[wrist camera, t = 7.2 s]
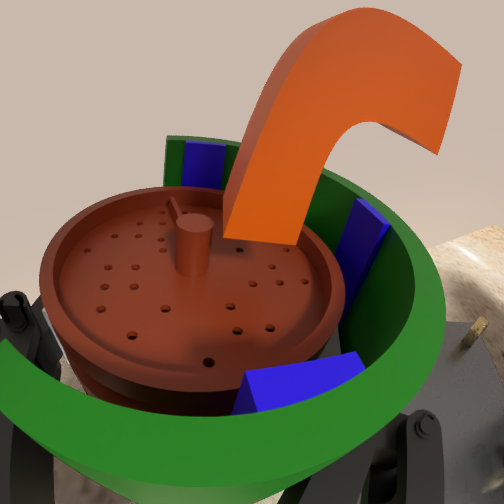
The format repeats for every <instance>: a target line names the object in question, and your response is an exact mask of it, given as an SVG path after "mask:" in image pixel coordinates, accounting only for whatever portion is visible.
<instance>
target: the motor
mask: <svg viewBox="0 0 504 504" xmlns="http://www.w3.org/2000/svg"><path fill="white" fill-rule="evenodd" d="M461 66H462V64H461V63H459V62H458V61H457V60H456V59H455V58H454V57H453V56H452V55H451V54H450V53H449V52H448V51H446V50H445V49H444V48H443V47H442V46H441V45H439V44H438V43H437V42H436V41H434V40H433V39H432V38H431V37H430V36H428V35H427V34H426V33H424V32H423V31H421V30H420V29H419V28H417V27H416V26H414V25H413V24H411V23H409V22H408V21H406V20H404V19H402V18H401V17H399V16H397V15H394V14H392V13H390V12H387V11H384V10H380V9H375V8H356V9H352V10H349V11H346V12H344V13H341V14H339V15H336V16H334V17H331V18H329V19H327V20H324V21H322V22H320V23H318V24H315V25H313V26H311V27H310V28H308V29H306V30H305V31H304V32H302V33H301V34H300V35H299V36H298V37H297V38H296V39H295V40H294V41H293V42H292V43H291V44H290V46H289V47H288V48H287V49H286V51H285V52H284V53H283V55H282V56H281V58H280V59H279V61H278V63H277V64H276V66H275V67H274V69H273V71H272V73H271V75H270V77H269V78H268V80H267V82H266V84H265V86H264V88H263V90H262V93H261V95H260V97H259V100H258V102H257V104H256V107H255V109H254V111H253V114H252V116H251V118H250V121H249V124H248V126H247V129H246V132H245V134H244V137H243V139H242V142H241V143H240V142H235V141H228V140H222V139H215V138H206V137H194V136H167V139H166V149H165V163H164V177H163V187H154V188H146V189H139V190H135V191H130V192H126V193H122V194H118V195H116V196H112V197H109V198H107V199H104V200H102V201H100V202H97V203H95V204H93V205H91V206H89V207H87V208H86V209H84V210H82V211H81V212H79V213H78V214H76V215H75V216H74V217H72V218H71V219H70V220H69V221H68V222H66V223H65V224H64V225H63V227H61V228H60V229H59V231H58V232H57V233H56V234H55V236H54V237H53V239H52V240H51V242H50V243H49V245H48V247H47V249H46V251H45V253H44V256H43V259H42V262H41V267H40V274H39V286H40V293H41V298H42V302H43V305H44V308H45V310H46V313H47V315H48V318H49V320H50V323H51V325H52V327H53V330H54V332H55V334H56V336H57V338H58V340H59V342H60V343H61V345H62V347H63V349H64V352H65V354H66V357H67V359H68V361H69V363H70V365H71V367H72V369H73V371H74V373H75V375H76V376H77V378H78V380H79V382H80V383H81V385H82V386H83V388H84V390H85V392H86V394H87V395H86V394H84V393H82V392H79V391H77V390H75V389H73V388H71V387H69V386H67V385H65V384H63V383H61V382H59V381H58V380H56V379H54V378H53V377H51V376H50V375H48V374H46V373H45V372H43V371H42V370H40V369H39V368H37V367H36V366H35V365H34V364H32V363H31V362H30V361H29V360H27V359H26V358H25V357H24V356H23V355H22V354H20V353H19V352H18V351H17V350H16V349H15V348H14V347H13V346H12V344H11V343H10V342H9V341H8V340H7V339H6V338H5V339H4V340H3V341H2V342H1V343H0V411H1V412H2V413H3V414H4V415H5V416H6V417H7V418H8V419H10V420H11V421H12V422H13V423H14V424H15V425H16V426H17V427H19V428H20V429H21V430H22V431H23V432H24V433H26V434H27V435H28V436H29V437H30V438H32V439H33V440H34V441H35V442H37V443H38V444H39V445H41V446H42V447H43V448H45V449H46V450H47V451H49V452H50V453H51V454H53V455H54V456H55V457H57V458H58V459H60V460H61V461H63V462H64V463H66V464H67V465H69V466H70V467H72V468H73V469H75V470H76V471H78V472H79V473H81V474H83V475H84V476H86V477H88V478H89V479H91V480H93V481H95V482H96V483H98V484H100V485H102V486H103V487H105V488H107V489H109V490H111V491H113V492H115V493H117V494H119V495H121V496H123V497H125V498H127V499H129V500H131V501H133V502H135V503H138V504H253V503H256V502H258V501H260V500H263V499H265V498H267V497H269V496H272V495H274V494H276V493H278V492H280V491H282V490H284V489H286V488H288V487H290V486H292V485H294V484H296V483H298V482H300V481H302V480H304V479H305V478H307V477H309V476H311V475H313V474H314V473H316V472H318V471H320V470H321V469H323V468H325V467H326V466H328V465H330V464H331V463H333V462H335V461H336V460H338V459H339V458H341V457H342V456H344V455H345V454H347V453H348V452H350V451H351V450H353V449H354V448H356V447H357V446H359V445H360V444H362V443H363V442H364V441H366V440H367V439H369V438H370V437H371V436H373V435H374V434H375V433H377V432H378V431H379V430H380V429H382V428H383V427H384V426H385V425H386V424H388V423H389V422H390V421H391V420H392V419H394V418H395V417H396V416H397V415H398V414H399V413H400V412H401V411H402V410H403V409H404V408H405V406H406V405H407V404H408V403H409V402H410V401H411V400H412V399H413V398H414V396H415V395H416V393H417V392H418V391H419V389H420V388H421V387H422V385H423V384H424V382H425V381H426V379H427V377H428V375H429V374H430V372H431V370H432V368H433V366H434V364H435V362H436V359H437V357H438V354H439V352H440V348H441V345H442V341H443V337H444V331H445V323H446V306H445V297H444V291H443V287H442V283H441V280H440V276H439V274H438V271H437V269H436V266H435V264H434V262H433V260H432V258H431V256H430V255H429V253H428V251H427V250H426V248H425V247H424V245H423V244H422V242H421V241H420V239H419V238H418V237H417V236H416V234H415V233H414V232H413V231H412V230H411V228H410V227H409V226H408V225H407V224H406V223H405V222H404V221H403V220H402V219H401V218H400V217H399V216H398V215H397V214H395V212H393V211H392V210H391V209H390V208H389V207H387V206H386V205H385V204H383V203H382V202H381V201H380V200H378V199H377V198H376V197H374V196H373V195H371V194H370V193H368V192H367V191H365V190H364V189H362V188H361V187H359V186H357V185H356V184H354V183H352V182H350V181H349V180H347V179H345V178H343V177H341V176H339V175H337V174H335V173H333V172H331V171H329V170H327V169H324V168H323V167H324V165H325V162H326V160H327V158H328V156H329V154H330V152H331V151H332V149H333V147H334V145H335V144H336V142H337V141H338V139H339V138H340V137H341V136H342V135H343V134H344V133H345V132H346V131H347V130H348V129H349V128H351V127H352V126H354V125H356V124H358V123H361V122H369V121H370V122H377V123H379V124H381V125H382V126H384V127H386V128H388V129H390V130H391V131H393V132H395V133H397V134H399V135H401V136H403V137H405V138H407V139H409V140H410V141H413V142H414V143H416V144H418V145H420V146H422V147H424V148H425V149H427V150H429V151H431V152H432V153H434V154H436V155H438V152H439V149H440V146H441V143H442V140H443V137H444V133H445V130H446V126H447V123H448V120H449V116H450V113H451V109H452V105H453V101H454V97H455V93H456V89H457V85H458V80H459V76H460V70H461ZM337 325H338V333H339V342H340V351H341V355H337V356H333V357H328V358H323V359H318V357H319V356H320V355H321V353H322V352H323V350H324V348H325V347H326V345H327V343H328V341H329V340H330V338H331V336H332V334H333V333H334V331H335V329H336V327H337ZM317 359H318V360H317Z"/></svg>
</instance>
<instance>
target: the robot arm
mask: <svg viewBox="0 0 504 504" xmlns="http://www.w3.org/2000/svg"><path fill="white" fill-rule="evenodd" d="M0 315H1V316H2V319H0V343H1V342H2V341H3V340H4V339H5V338H6V339H7V340H8V341H9V342H10V343H11V344H12V346H13V347H14V348H15V349H16V350H17V351H18V352H19V353H20V354H22V355H23V356H24V357H25V358H26V359H27V360H29V361H30V362H31V363H32V364H34V365H35V366H36V367H37V368H39V369H40V370H42V371H43V372H45V373H46V374H48V375H50V376H51V377H53V378H54V379H56V380H58V381H59V382H60V377H61V365H60V362H59V360H60V359H61V357H62V355H64V357H65V359H66V361H67V362H68V364H70V363H69V361H68V359H67V357H66V354H65V352H64V349H63V347H62V345H61V343H60V342H59V340H58V338H57V336H56V334H55V332H54V330H53V327H52V325H51V323H50V320H49V318H48V315H47V313H46V310H45V308H44V305H43V302H42V298H41V295H40V296H39V297H38V298H37V300H36V301H35V302H34V303H33V305H32V306H30V304H29V301H28V299H27V297H26V295H25V294H24V293H23V292H20V291H12V292H9V293H6V294H4V295H3V296H2V297H1V298H0ZM337 355H341V351H340V342H339V333H338V325H337V327H336V329H335V331H334V333H333V334H332V336H331V338H330V340H329V341H328V343H327V345H326V347H325V348H324V350H323V352H322V353H321V355H320V356H319V357H318V359H323V358H328V357H333V356H337ZM318 359H317V360H318ZM53 457H54V455H53V454H51V453H50V452H49V451H47V450H46V449H45V448H43V447H42V446H41V445H39V444H38V443H37V442H35V441H34V440H33V439H32V438H30V437H29V436H28V435H27V434H26V433H24V432H23V431H22V430H21V429H20V428H19V427H17V426H16V425H15V424H14V423H13V422H12V421H11V420H10V419H8V418H7V417H6V416H5V415H4V414H3V413H2V412H1V411H0V504H55V501H54V478H53ZM361 491H362V492H361ZM360 494H361V501H360V504H444V498H445V481H444V455H443V442H442V431H441V426H440V422H439V420H438V419H437V417H436V416H435V415H434V414H433V413H432V412H430V411H428V410H424V409H421V410H416V411H415V412H413V413H412V414H410V415H409V416H408V415H405V414H402V413H399V414H398V415H397V416H396V417H395V418H394V419H392V420H391V421H390V422H389V423H388V424H386V425H385V426H384V427H383V428H382V429H380V430H379V431H378V432H377V433H375V434H374V435H373V436H371V437H370V438H369V439H367V440H366V441H364V442H363V443H362V444H360V445H359V446H357V447H356V448H354V449H353V450H351V451H350V452H348V453H347V454H345V455H344V456H342V457H341V458H339V459H338V460H336V461H335V462H333V463H331V464H330V465H328V466H326V467H325V468H323V469H321V470H320V471H318V472H316V473H314V474H313V475H311V476H309V477H307V478H305V479H304V480H302V481H300V482H298V483H296V484H294V485H292V486H290V487H288V488H286V489H285V490H284V492H283V494H282V496H281V498H280V499H279V501H278V503H277V504H357V501H358V499H359V496H360Z"/></svg>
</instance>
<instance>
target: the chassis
mask: <svg viewBox="0 0 504 504" xmlns="http://www.w3.org/2000/svg"><path fill="white" fill-rule="evenodd" d="M488 325H489V323H488V321H487V319H486V318H484V317H483V316H480V317H479V318H478V319H477V321H476V322H475V323H461V322H446V323H445V331H444V337H443V341H442V345H441V348H440V352H439V354H438V357H437V359H436V362H435V364H434V366H433V368H432V370H431V372H430V374H429V375H428V377H427V379H426V381H425V382H424V384H423V385H422V387H421V388H420V389H419V391H418V392H417V393H416V395H415V396H414V398H413V399H412V400H411V401H410V402H409V403H408V404H407V405H406V406H405V408H404V409H403V410H402V411H401V412H400V413H402V414H405V415H408V416H409V415H410V414H412V413H413V412H415V411H416V410H421V409H424V410H428V411H430V412H432V413H433V414H434V415H435V416H436V417H437V419H438V420H439V422H440V426H441V431H442V442H443V455H444V481H445V498H444V504H504V386H503V384H502V381H501V379H500V376H499V374H498V372H497V369H496V367H495V365H494V363H493V360H492V358H491V356H490V354H489V352H488V350H487V348H486V346H485V344H484V342H483V340H482V338H481V336H480V335H481V334H482V333H483V331H484V330H485V329H486V328H487V326H488ZM361 492H362V491H361ZM360 501H361V494H360V496H359V499H358V501H357V504H360Z"/></svg>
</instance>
